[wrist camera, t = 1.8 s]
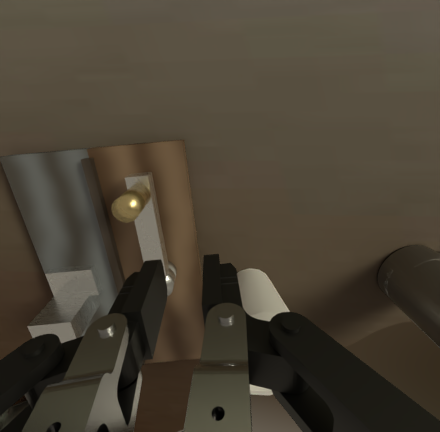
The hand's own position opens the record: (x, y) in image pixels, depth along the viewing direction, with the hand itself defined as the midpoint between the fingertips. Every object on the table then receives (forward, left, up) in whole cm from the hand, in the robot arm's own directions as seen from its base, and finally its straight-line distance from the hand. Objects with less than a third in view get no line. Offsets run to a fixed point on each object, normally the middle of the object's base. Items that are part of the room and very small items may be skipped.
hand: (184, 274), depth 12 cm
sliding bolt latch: (+12, +12, -21) cm, 27 cm away
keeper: (+18, +13, -20) cm, 30 cm away
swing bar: (+6, +6, -18) cm, 20 cm away
